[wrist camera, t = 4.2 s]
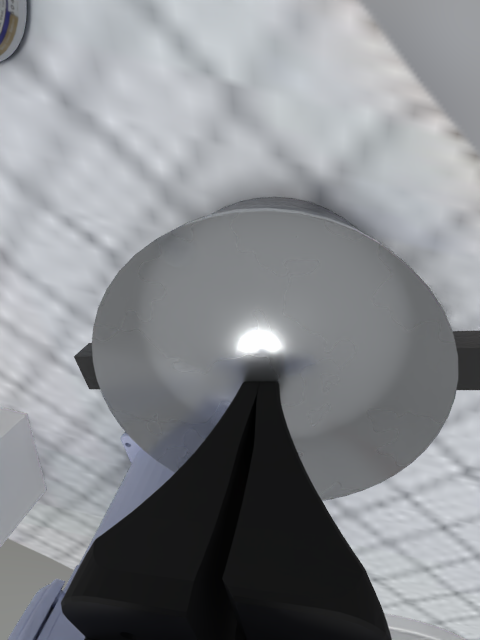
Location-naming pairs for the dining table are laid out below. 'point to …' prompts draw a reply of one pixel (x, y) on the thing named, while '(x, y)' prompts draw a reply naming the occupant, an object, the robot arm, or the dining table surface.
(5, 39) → the pill bottle
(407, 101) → the dining table surface
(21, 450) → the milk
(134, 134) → the dining table surface
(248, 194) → the dining table surface
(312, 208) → the cooking pot
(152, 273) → the pot lid
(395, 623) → the plate stack
